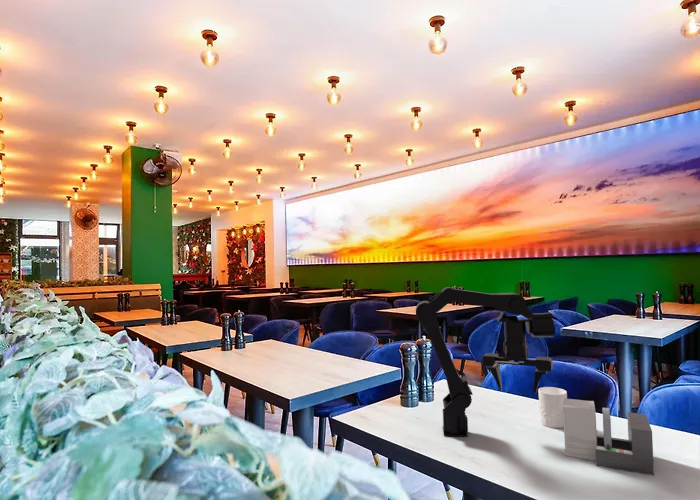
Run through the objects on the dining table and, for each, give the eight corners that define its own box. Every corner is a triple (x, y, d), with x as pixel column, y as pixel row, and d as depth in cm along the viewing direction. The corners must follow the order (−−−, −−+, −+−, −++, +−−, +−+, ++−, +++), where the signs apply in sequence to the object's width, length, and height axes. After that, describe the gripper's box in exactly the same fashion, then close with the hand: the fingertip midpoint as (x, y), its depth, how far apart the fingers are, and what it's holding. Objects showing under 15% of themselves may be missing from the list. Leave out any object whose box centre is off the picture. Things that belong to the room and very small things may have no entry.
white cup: (571, 429, 128) (570, 395, 128) (542, 428, 129) (541, 394, 130) (564, 420, 136) (562, 387, 136) (536, 418, 137) (535, 386, 137)
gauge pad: (605, 463, 105) (603, 420, 105) (604, 446, 114) (602, 407, 114) (612, 464, 104) (611, 421, 104) (610, 447, 113) (609, 408, 113)
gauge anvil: (596, 465, 105) (594, 423, 106) (595, 446, 116) (593, 408, 116) (654, 475, 100) (652, 431, 100) (647, 454, 111) (645, 414, 111)
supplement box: (597, 449, 114) (595, 400, 115) (597, 461, 108) (595, 409, 108) (565, 445, 118) (563, 397, 118) (564, 456, 111) (562, 405, 112)
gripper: (553, 334, 129) (555, 388, 128) (487, 331, 138) (489, 381, 137) (549, 340, 119) (552, 399, 119) (479, 337, 128) (482, 391, 127)
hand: (517, 391), depth 126 cm, fingers open, 9 cm apart
